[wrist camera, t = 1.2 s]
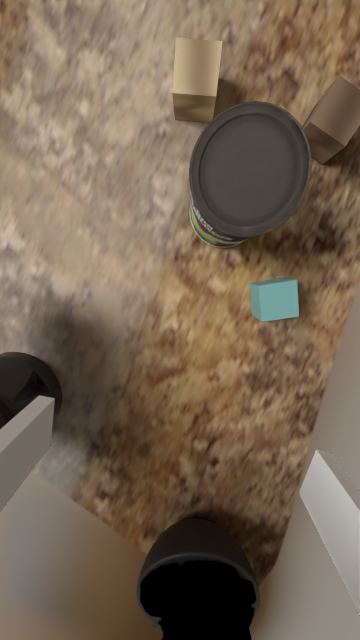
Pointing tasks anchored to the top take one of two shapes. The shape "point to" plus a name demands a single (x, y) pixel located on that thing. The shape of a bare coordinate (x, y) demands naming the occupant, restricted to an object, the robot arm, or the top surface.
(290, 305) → the teal cube
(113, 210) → the top surface
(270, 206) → the coffee can
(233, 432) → the top surface
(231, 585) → the bowl of black rocks
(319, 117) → the walnut cube
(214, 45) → the oak cube
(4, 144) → the top surface
